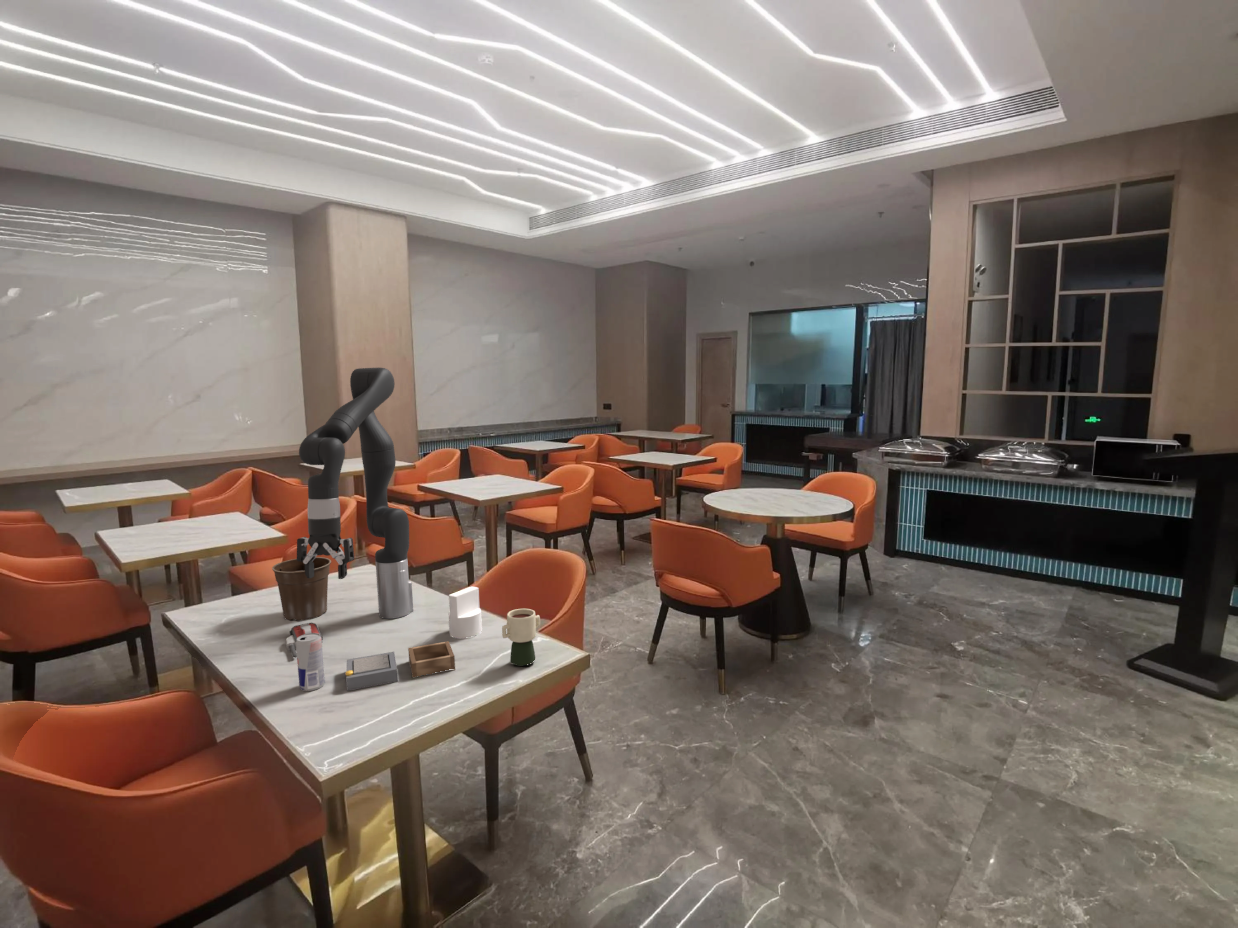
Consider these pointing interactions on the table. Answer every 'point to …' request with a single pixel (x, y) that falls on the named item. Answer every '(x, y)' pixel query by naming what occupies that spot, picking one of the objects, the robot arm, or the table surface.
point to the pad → (371, 664)
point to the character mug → (521, 635)
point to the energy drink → (310, 661)
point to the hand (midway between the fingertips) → (326, 577)
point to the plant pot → (302, 588)
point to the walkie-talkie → (299, 631)
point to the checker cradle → (371, 674)
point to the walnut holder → (431, 658)
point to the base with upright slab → (465, 613)
